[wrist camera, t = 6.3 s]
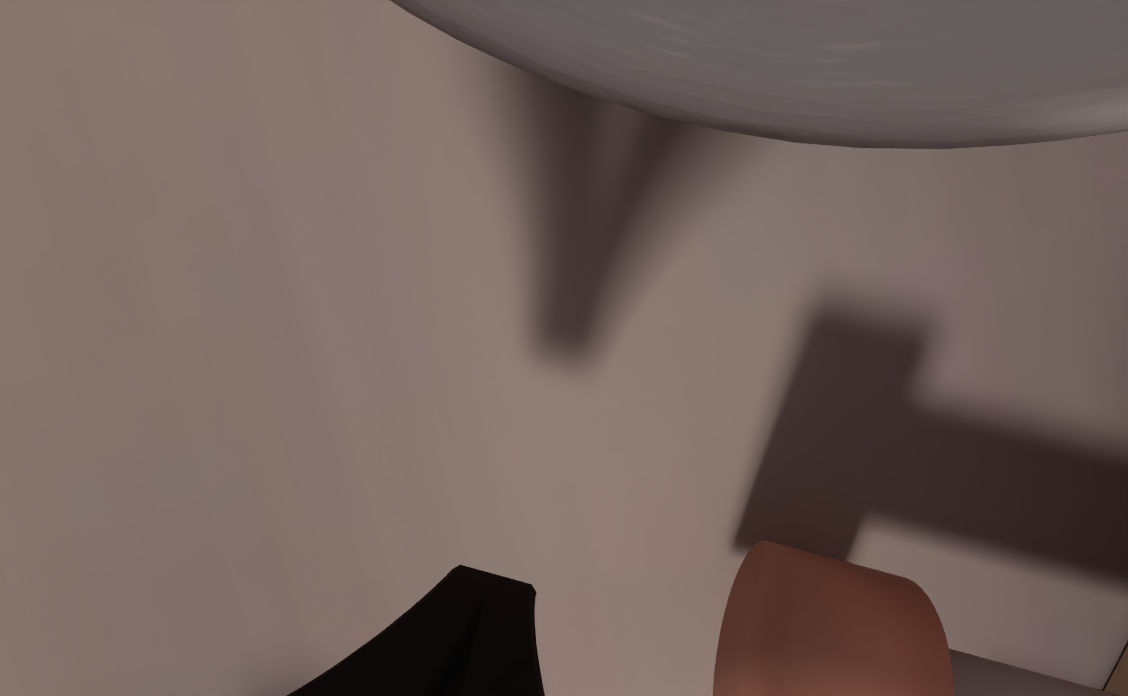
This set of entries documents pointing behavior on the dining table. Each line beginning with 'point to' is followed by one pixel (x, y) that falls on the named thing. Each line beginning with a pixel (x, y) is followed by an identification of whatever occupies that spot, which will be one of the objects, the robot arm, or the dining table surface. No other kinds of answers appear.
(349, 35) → the dining table surface
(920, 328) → the dining table surface
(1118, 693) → the mount
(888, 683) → the knob
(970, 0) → the serving bowl
